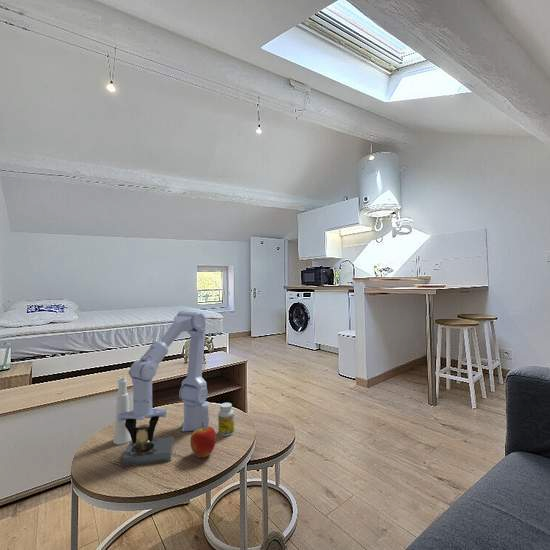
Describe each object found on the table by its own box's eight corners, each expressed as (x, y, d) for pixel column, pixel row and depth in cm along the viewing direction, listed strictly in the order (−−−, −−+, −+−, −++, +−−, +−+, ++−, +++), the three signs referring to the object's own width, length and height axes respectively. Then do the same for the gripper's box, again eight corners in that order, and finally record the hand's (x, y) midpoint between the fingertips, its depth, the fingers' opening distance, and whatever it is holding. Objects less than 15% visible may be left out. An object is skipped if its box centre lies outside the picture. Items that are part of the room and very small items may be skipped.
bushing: (151, 442, 104) (151, 423, 104) (148, 449, 99) (148, 429, 99) (137, 443, 103) (137, 424, 103) (133, 450, 98) (133, 431, 98)
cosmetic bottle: (109, 442, 109) (108, 378, 109) (124, 434, 115) (124, 373, 115) (121, 446, 106) (120, 381, 107) (135, 438, 112) (135, 376, 112)
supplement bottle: (236, 430, 117) (236, 402, 117) (230, 437, 112) (229, 408, 112) (222, 428, 119) (222, 400, 119) (215, 435, 113) (215, 406, 113)
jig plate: (173, 444, 108) (173, 436, 108) (170, 460, 98) (170, 452, 98) (130, 448, 105) (130, 441, 105) (121, 466, 95) (121, 458, 95)
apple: (193, 465, 95) (193, 431, 96) (188, 451, 103) (188, 421, 103) (219, 458, 99) (218, 426, 99) (212, 445, 106) (212, 416, 106)
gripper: (114, 405, 96) (114, 450, 95) (164, 401, 99) (164, 444, 98) (120, 396, 102) (121, 438, 102) (167, 393, 105) (167, 433, 105)
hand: (142, 441), depth 101 cm, fingers closed on bushing, 4 cm apart
